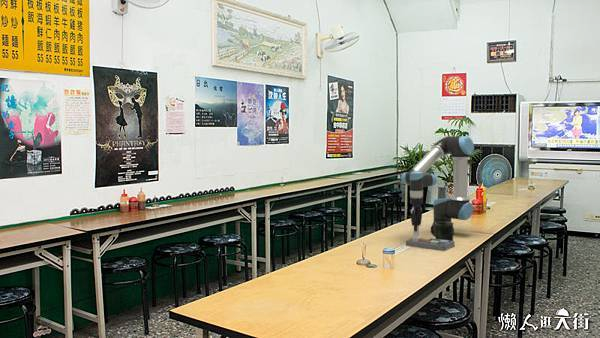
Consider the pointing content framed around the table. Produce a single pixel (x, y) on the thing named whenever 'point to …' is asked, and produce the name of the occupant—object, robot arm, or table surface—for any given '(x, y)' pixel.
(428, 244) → the grey compartment rack
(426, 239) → the block
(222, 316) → the table surface
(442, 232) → the mug
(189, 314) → the table surface
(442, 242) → the key slate
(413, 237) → the key ivory
